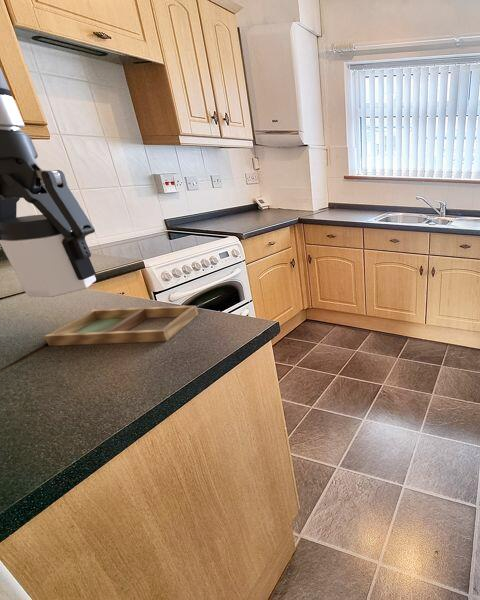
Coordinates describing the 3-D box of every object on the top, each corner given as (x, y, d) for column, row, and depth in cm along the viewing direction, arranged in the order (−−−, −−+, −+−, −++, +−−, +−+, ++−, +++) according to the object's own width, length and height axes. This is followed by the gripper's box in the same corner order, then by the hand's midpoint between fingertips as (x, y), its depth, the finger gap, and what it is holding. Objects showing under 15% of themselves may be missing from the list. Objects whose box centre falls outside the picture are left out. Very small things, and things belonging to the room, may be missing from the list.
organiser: (48, 346, 74) (43, 336, 73) (97, 318, 87) (93, 309, 86) (166, 341, 74) (163, 331, 73) (198, 314, 87) (196, 305, 86)
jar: (46, 283, 60) (13, 216, 56) (102, 276, 63) (75, 211, 58) (18, 302, 53) (-24, 226, 48) (82, 293, 56) (50, 220, 51)
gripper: (87, 129, 51) (138, 269, 61) (-54, 133, 51) (18, 272, 61) (40, 126, 45) (105, 284, 54) (-123, 130, 45) (-30, 287, 54)
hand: (59, 277), depth 57 cm, fingers closed on jar, 9 cm apart
